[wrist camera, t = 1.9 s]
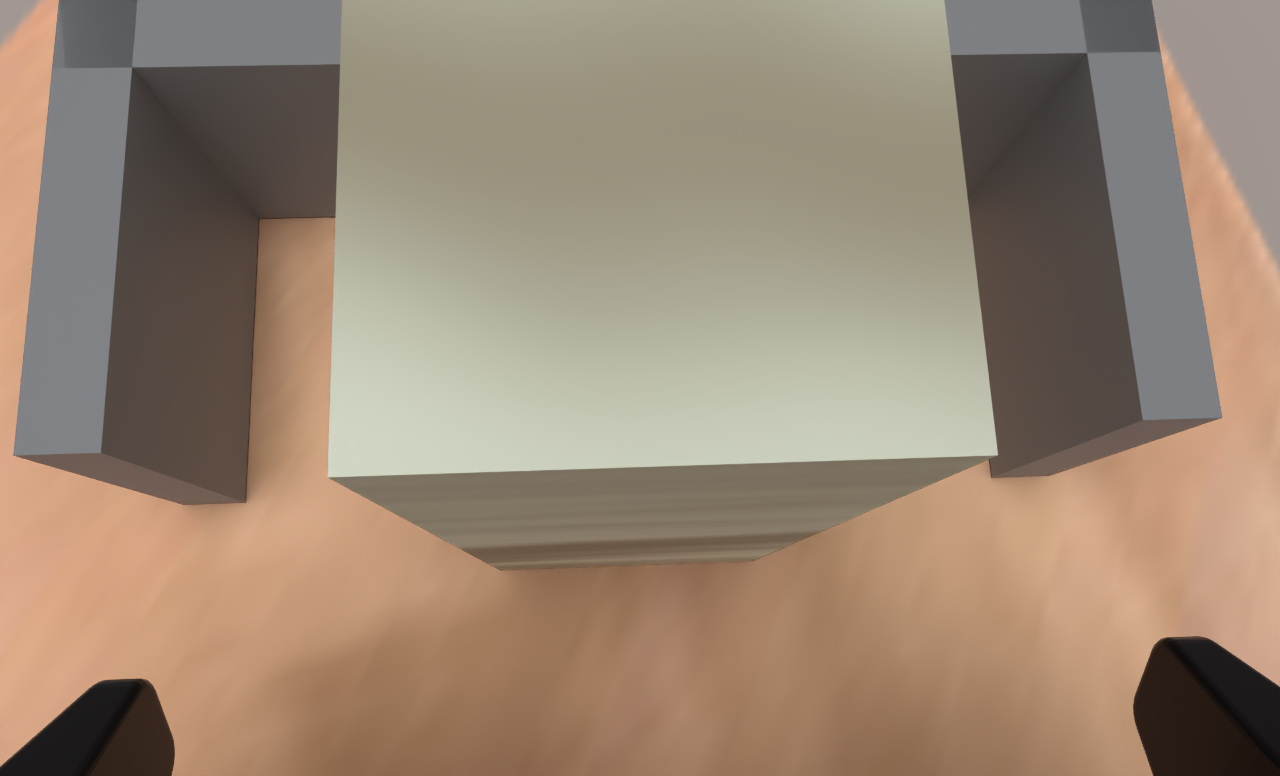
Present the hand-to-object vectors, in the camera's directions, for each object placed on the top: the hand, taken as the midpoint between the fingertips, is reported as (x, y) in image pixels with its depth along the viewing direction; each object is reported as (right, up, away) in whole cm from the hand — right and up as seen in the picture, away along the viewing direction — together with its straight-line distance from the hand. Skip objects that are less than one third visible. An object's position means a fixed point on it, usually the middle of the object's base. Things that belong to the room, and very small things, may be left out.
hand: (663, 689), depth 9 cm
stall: (-1, +4, +12) cm, 13 cm away
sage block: (-1, +2, +12) cm, 12 cm away
